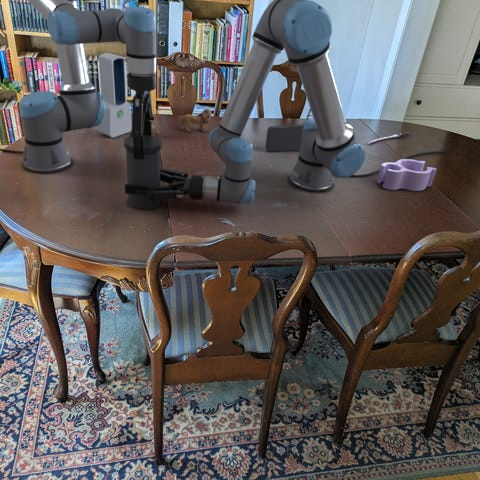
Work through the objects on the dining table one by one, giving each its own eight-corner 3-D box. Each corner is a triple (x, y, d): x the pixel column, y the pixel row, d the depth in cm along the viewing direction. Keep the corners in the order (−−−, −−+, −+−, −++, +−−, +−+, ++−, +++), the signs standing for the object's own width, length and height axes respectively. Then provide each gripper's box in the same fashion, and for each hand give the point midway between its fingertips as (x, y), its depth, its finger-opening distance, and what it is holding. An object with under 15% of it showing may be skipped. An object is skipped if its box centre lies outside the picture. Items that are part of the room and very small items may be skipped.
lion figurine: (208, 127, 204) (210, 107, 199) (212, 131, 200) (213, 111, 195) (176, 128, 199) (176, 107, 195) (179, 132, 195) (179, 111, 190)
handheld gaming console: (315, 147, 196) (319, 124, 190) (317, 149, 194) (322, 126, 188) (264, 149, 189) (267, 125, 183) (266, 152, 187) (269, 127, 181)
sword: (406, 132, 223) (406, 130, 222) (411, 134, 221) (412, 132, 220) (362, 144, 207) (363, 141, 206) (368, 146, 205) (368, 143, 204)
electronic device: (110, 138, 183) (105, 58, 167) (97, 133, 186) (90, 54, 170) (132, 130, 192) (130, 54, 176) (119, 126, 195) (115, 50, 179)
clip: (389, 193, 165) (394, 175, 161) (370, 177, 175) (375, 160, 171) (435, 189, 171) (441, 172, 167) (414, 174, 181) (420, 158, 177)
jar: (150, 212, 139) (150, 152, 128) (122, 205, 141) (119, 145, 131) (165, 199, 147) (166, 141, 136) (138, 192, 149) (136, 135, 138)
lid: (116, 145, 133) (116, 140, 132) (144, 137, 140) (144, 131, 139) (141, 157, 128) (141, 151, 127) (169, 147, 135) (169, 142, 134)
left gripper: (136, 61, 133) (138, 134, 144) (116, 83, 113) (120, 166, 124) (162, 64, 133) (162, 136, 145) (147, 86, 113) (149, 168, 125)
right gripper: (199, 217, 133) (121, 209, 133) (206, 183, 152) (137, 176, 151) (200, 193, 129) (119, 186, 129) (207, 161, 148) (136, 154, 147)
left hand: (143, 150), depth 135 cm, fingers open, 12 cm apart
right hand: (129, 181), depth 140 cm, fingers closed on jar, 10 cm apart
